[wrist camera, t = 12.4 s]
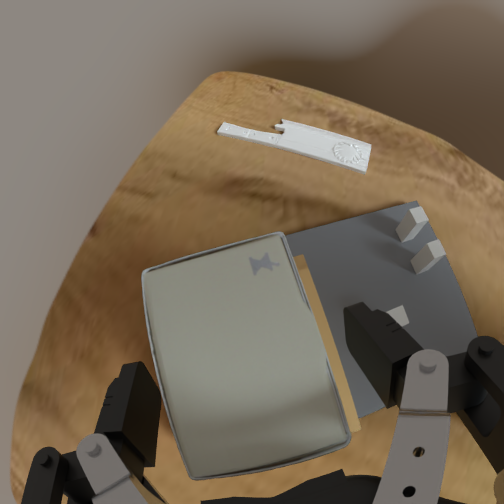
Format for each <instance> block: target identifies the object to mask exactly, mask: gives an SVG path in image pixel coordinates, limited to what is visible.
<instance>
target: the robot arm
mask: <svg viewBox="0 0 504 504" xmlns="http://www.w3.org/2000/svg"><path fill="white" fill-rule="evenodd" d="M343 315H344V326H345V339H346V344H347V347H348V349H349V352H350V353H351V355H352V356H353V358H354V359H355V361H356V362H357V364H358V365H359V367H360V368H361V370H362V371H363V373H364V374H365V376H366V377H367V379H368V380H369V382H370V383H371V385H372V386H373V388H374V389H375V391H376V392H377V394H378V396H379V397H380V399H381V400H382V402H383V403H384V405H385V406H386V408H387V409H388V408H390V407H392V406H394V405H397V406H398V407H399V409H400V411H399V415H398V419H397V424H396V428H395V432H394V436H393V440H392V444H391V448H390V452H389V455H388V459H387V462H386V465H385V469H384V472H383V475H382V478H381V477H377V476H371V475H350V476H345V474H344V472H343V470H342V469H341V470H338V471H335V472H332V473H329V474H326V475H323V476H320V477H317V478H314V479H310V480H307V481H305V482H304V483H302V484H300V485H298V486H296V487H294V488H292V489H290V490H288V491H286V492H284V493H282V494H279V495H277V496H275V497H271V498H252V497H230V498H222V499H214V500H205V501H201V504H465V503H461V502H457V501H453V500H449V499H445V498H442V497H439V494H440V489H441V484H442V479H443V474H444V468H445V462H446V455H447V448H448V440H449V430H450V413H453V412H456V413H457V415H458V416H459V417H460V419H461V420H462V422H463V423H464V425H465V426H466V427H467V429H468V430H469V432H470V433H471V435H472V436H473V438H474V439H475V441H476V442H477V444H478V445H479V447H480V448H481V450H482V451H483V453H484V454H485V456H486V457H487V459H488V460H489V462H490V463H491V465H492V467H493V468H494V470H495V471H496V473H497V477H496V479H495V482H494V495H495V498H496V500H497V503H496V504H504V346H503V345H502V344H501V343H500V342H499V341H498V340H496V339H495V338H492V337H489V336H479V337H476V338H474V339H473V340H472V341H471V342H470V343H469V345H468V348H467V352H463V353H459V354H455V355H451V356H445V355H444V354H442V353H441V352H439V351H436V350H431V349H426V350H424V349H423V348H422V347H421V346H420V345H419V344H418V343H417V342H416V340H415V339H414V338H413V337H412V336H411V335H410V334H409V333H408V332H407V331H406V330H405V329H404V328H403V329H402V326H401V325H400V324H399V323H398V322H397V323H396V320H395V319H393V318H392V317H391V316H390V315H389V314H388V313H386V312H383V311H381V310H379V309H376V310H374V311H371V309H370V308H369V307H368V306H367V305H366V304H365V303H364V302H359V303H356V304H353V305H350V306H347V307H345V308H344V310H343ZM105 398H106V399H104V402H103V407H102V408H101V412H100V415H99V418H98V422H97V425H96V429H95V432H94V434H91V435H88V436H86V437H85V438H84V439H83V440H81V442H80V443H79V445H78V447H77V451H73V452H70V453H66V454H62V455H61V454H60V453H59V452H58V451H57V450H56V449H55V448H53V447H45V448H42V449H41V450H39V451H38V452H37V453H36V455H35V456H34V458H33V461H32V464H31V468H30V471H29V475H28V478H27V482H26V486H25V490H24V494H23V498H22V502H21V504H61V501H62V496H63V494H64V495H66V496H67V497H68V501H67V504H169V503H168V502H167V501H166V500H165V499H164V498H163V496H162V495H161V494H160V493H159V492H158V491H157V489H156V488H155V487H154V486H153V485H152V483H151V482H150V481H149V480H148V478H147V477H146V476H145V475H144V474H143V472H144V467H155V459H156V447H157V437H158V427H159V418H160V410H161V395H160V391H159V389H158V387H157V385H156V384H155V382H154V380H153V379H152V377H151V375H150V373H149V372H148V370H147V368H146V367H145V365H144V363H143V362H141V361H139V362H134V363H128V364H124V365H123V366H122V369H121V372H120V375H119V378H115V379H114V381H113V382H112V383H111V384H110V386H109V387H108V390H107V393H106V396H105Z"/></svg>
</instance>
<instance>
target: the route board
mask: <svg viewBox="0 0 504 504" xmlns="http://www.w3.org/2000/svg"><path fill="white" fill-rule="evenodd" d="M428 220H429V219H428V218H427V216H426V214H425V212H424V210H423V209H422V207H421V206H419V204H418V202H417V201H413V202H410V203H406V204H402V205H398V206H394V207H391V208H387V209H383V210H379V211H375V212H372V213H368V214H364V215H360V216H357V217H353V218H349V219H345V220H341V221H338V222H334V223H330V224H327V225H323V226H319V227H315V228H312V229H308V230H304V231H300V232H297V233H293V234H289V235H286V236H285V237H286V240H287V243H288V246H289V248H290V251H291V254H292V256H293V259H294V261H295V264H296V267H297V270H298V272H299V275H300V278H301V281H302V283H303V286H304V289H305V292H306V295H307V298H308V300H309V303H310V306H311V309H312V312H313V314H314V317H315V320H316V323H317V326H318V329H319V332H320V335H321V338H322V341H323V344H324V346H325V349H326V352H327V356H328V359H329V363H330V366H331V369H332V372H333V375H334V378H335V381H336V385H337V388H338V391H339V395H340V398H341V401H342V404H343V408H344V411H345V415H346V419H347V422H348V426H349V429H350V432H351V433H353V432H355V431H358V430H360V429H361V426H360V422H359V418H361V417H363V416H366V415H368V414H370V413H373V412H375V411H377V410H379V409H382V408H384V407H386V406H385V405H384V403H383V402H382V400H381V399H380V397H379V396H378V394H377V392H376V391H375V389H374V388H373V386H372V385H371V383H370V382H369V380H368V379H367V377H366V376H365V374H364V373H363V371H362V370H361V368H360V367H359V365H358V364H357V362H356V361H355V359H354V358H353V356H352V355H351V353H350V352H349V349H348V347H347V344H346V339H345V326H344V315H343V310H344V308H345V307H347V306H350V305H353V304H356V303H359V302H364V303H365V304H366V305H367V306H368V307H369V308H370V309H371V311H374V310H376V309H379V310H381V311H383V312H386V313H388V314H389V315H390V316H391V317H392V318H393V319H395V320H396V323H397V322H398V323H399V324H400V325H401V326H402V329H403V328H404V329H405V330H406V331H407V332H408V333H409V334H410V335H411V336H412V337H413V338H414V339H415V340H416V342H417V343H418V344H419V345H420V346H421V347H422V348H423V349H424V350H426V349H431V350H436V351H439V352H441V353H442V354H444V355H445V356H451V355H455V354H459V353H463V352H467V348H468V345H469V343H470V342H471V341H472V340H473V339H474V338H476V337H478V336H477V332H476V329H475V327H474V324H473V321H472V318H471V315H470V312H469V310H468V307H467V304H466V302H465V299H464V297H463V294H462V292H461V289H460V287H459V284H458V282H457V280H456V277H455V275H454V273H453V271H452V268H451V266H450V264H449V262H448V260H447V257H446V255H445V254H446V253H445V250H444V248H443V246H442V244H441V242H440V240H439V239H437V237H436V235H435V233H434V231H433V229H432V227H431V226H430V224H429V222H428Z"/></svg>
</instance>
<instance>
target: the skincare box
mask: <svg viewBox="0 0 504 504" xmlns="http://www.w3.org/2000/svg"><path fill="white" fill-rule="evenodd" d="M141 280H142V294H143V302H144V312H145V318H146V326H147V331H148V338H149V343H150V348H151V353H152V358H153V362H154V367H155V371H156V375H157V379H158V383H159V387H160V391H161V395H162V399H163V402H164V406H165V409H166V413H167V416H168V419H169V423H170V426H171V429H172V432H173V435H174V437H175V440H176V443H177V447H178V449H179V452H180V454H181V457H182V460H183V462H184V465H185V467H186V470H187V472H188V475H189V477H190V478H191V479H192V480H206V479H214V478H225V477H233V476H239V475H245V474H253V473H258V472H263V471H268V470H272V469H276V468H280V467H285V466H288V465H293V464H297V463H301V462H304V461H307V460H311V459H314V458H317V457H320V456H323V455H326V454H329V453H332V452H335V451H337V450H340V449H342V448H345V447H346V446H347V445H348V444H349V443H350V440H351V432H350V429H349V426H348V422H347V419H346V415H345V411H344V408H343V404H342V401H341V398H340V395H339V391H338V388H337V385H336V381H335V378H334V375H333V372H332V369H331V366H330V363H329V359H328V356H327V352H326V349H325V346H324V344H323V341H322V338H321V335H320V332H319V329H318V326H317V323H316V320H315V317H314V314H313V312H312V309H311V306H310V303H309V300H308V298H307V295H306V292H305V289H304V286H303V283H302V281H301V278H300V275H299V272H298V270H297V267H296V264H295V261H294V259H293V256H292V254H291V251H290V248H289V246H288V243H287V240H286V237H285V235H284V233H283V232H280V231H279V232H274V233H270V234H266V235H263V236H259V237H255V238H250V239H246V240H243V241H240V242H236V243H231V244H227V245H224V246H220V247H217V248H213V249H209V250H206V251H202V252H198V253H195V254H191V255H188V256H184V257H181V258H178V259H175V260H171V261H168V262H166V263H164V264H161V265H157V266H154V267H151V268H148V269H145V270H143V272H142V275H141Z"/></svg>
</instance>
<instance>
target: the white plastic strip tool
mask: <svg viewBox="0 0 504 504" xmlns="http://www.w3.org/2000/svg"><path fill="white" fill-rule="evenodd" d="M281 120H282V123H283V124H280V125H279V124H276V125H275V130H278V131H283V132H284V133H283V134H274V133H268V132H261V131H255V130H254V129H253V130H250V129H247V128H243V127H239V126H236V125H232V124H229V123H226V122H224V123H223V124H222V125H221V127H220V128H219V130H218V131H217V133H218V135H221V136H226V137H232V138H236V139H240V140H245V141H249V142H253V143H257V144H262V145H266V146H270V147H275V148H278V149H282V150H285V151H289V152H293V153H296V154H301V155H304V156H307V157H310V158H314V159H317V160H321V161H324V162H327V163H330V164H334V165H337V166H340V167H343V168H346V169H349V170H352V171H355V172H358V173H361V174H364V175H365V173H366V170H367V165H368V161H369V156H370V151H371V144H368V143H365V142H362V141H359V140H356V139H353V138H350V137H346V136H343V135H340V134H337V133H333V132H332V133H331V132H329V131H326V130H323V129H319V128H315V127H312V126H308V125H304V124H300V123H296V122H292V121H288V120H284V119H281Z"/></svg>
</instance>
